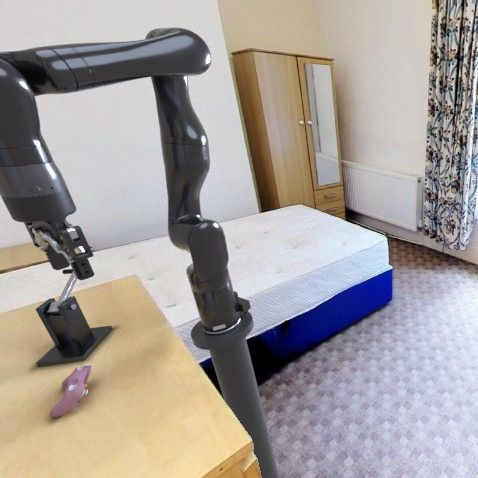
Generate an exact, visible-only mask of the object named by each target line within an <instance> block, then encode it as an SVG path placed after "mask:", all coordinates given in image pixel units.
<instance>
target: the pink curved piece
mask: <svg viewBox="0 0 478 478" xmlns="http://www.w3.org/2000/svg"><path fill="white" fill-rule="evenodd" d="M91 373H92V365H82V366H76V368H74V369H73V371H72V372H71V374H69V375H68V376H67V377H66V378H65V379H64V380H63V381H62V383H61V388H63V389H65V390H64V394H63V395H62V398H61V399H60V400H59V401H58V402H57V403H56V404H55V405H54V406H53V407H51V409H50V411H49V417H51V418H59V417H60V416H63V415H65V414H67V413H69V412H70V411H71V410H72V409H73V408H74V407H75V406H76V405H78V404H79V403H80V401H81V399H82V398H83V396H87V394H88V392H89V389H88V385H89V384H87V381H88V379H89V378H90V376H91Z"/></svg>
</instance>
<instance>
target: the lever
mask: <svg viewBox="0 0 478 478" xmlns="http://www.w3.org/2000/svg"><path fill="white" fill-rule="evenodd" d="M62 275H70V276H69V279H68V280H67V282H66V284H65V286H64V288H63V290H62V292H61V294H60V297H59V298H58V300H55V301H54V302H52V303H51V305H50V307H49V309H48V311H47V313H49V314H51V315H53V316H61V314H60V312H59V310H58V308H57V306H59V305H60V304H61V303H62V302H64V301H65V300H66V299H67V298H69V297H70V295H71V293H72V291H73V289H74V287H75V285H76V283H77V281H78V279H77V277H76V275H75V273H74V271H73V269H72V268H64V269H62Z"/></svg>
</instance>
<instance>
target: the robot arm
mask: <svg viewBox="0 0 478 478" xmlns="http://www.w3.org/2000/svg"><path fill="white" fill-rule="evenodd" d="M211 64H212V53H211V50H210V48H209V46H208V44H207V42H206V41H205V40H204V38H202V37H201V36H200V35H199V34H198V33H196V32H194V31H192V30H190V29H188V28H187V29H186V28H183V27H158V28H153V29H151V30H149V31H148V32H147V34H146V35H145V38H143V39H138V40H137V39H136V40H129V41H105V42H104V41H103V42H78V43H77V42H75V43H63V44H54V45H44V46H43V45H42V46H36V47H31V48H26V49H21V50H13V51H12V50H10V51H9V50H7V51H0V199H2V202H3V204H4V205H5V207H6V209H7V211H8V214H9V215H10V217H11V219H12V220H13V221H15V222H17V223H23V224H24V226H25V228H26V230H27V232H28V235H29V236H30V238H31V241H32V243H33V246H34V247H36V248H37V249H39V250H40V252H42V253H45V256H46V258H47V260H48V262H49V264H50V266H51V268H52V270H54V271H60V270H65V269H68V268H69V267H71V269H73V271H74V273H75V275H76V277H77V280H79V281H86V280H88V279H90V278H93V277H94V276H95V272H94V270H93V267H92V265H91V263H90V261H89V258H93V257H94V253H93V251H92V248H91V246H90V245H89V243H88V240H87V238H86V236H85V234H84V232H83V229H82V227H81V226H79V225H73V224H72V223H69V221H68V220H67V217H68V216H72V215H73V214H75V213H77V206H76V204H75V202H74V199H73V197H72V194H71V192H70V190H69V187H68V185H67V183H66V181H65V178H64V176H63V174H62V172H61V170H60V169H59V167H58V166H57V164H56V162H55V160H54V158H53V156H52V154H51V150H50V149H49V146H48V143H47V142H46V140H45V138H44V136H43V134H42V129H41V119H40V114H39V108H38V103H37V99H36V97H38V96H45V95H66V94H73V93H79V92H83V91H89V90H94V89H98V88H99V89H100V88H104V87H109V86H113V85H117V84H122V83H126V82H131V81H135V80H140V79H146V78H150V80H151V84H152V88H153V92H154V97H155V105H156V114H157V119H158V127H159V136H160V137H159V138H160V147H161V155H162V161H163V167H164V176H165V185H166V193H167V233H168V238H169V241H170V243H171V244H172V245H173V246H174V247H175V248H176V249H179V250H181V251H184V252H188V253H190V258H191V262H192V263H190V264H189V265H188V266H187V267H186V270H185V273H186V275H187V276H186V277H187V280H188V283H189V286H190V290H191V292H192V296H193V299H194V303H195V307H196V309H197V313H198V316H199V319H200V320H201V323H202V327H203V331H204V333H205V334H207V335H221V334H225V333H228V332H230V331H232V330H233V329H235V328H236V327H237V326H238V325H239V324H240V322H241V320H243V319H244V318H243V314H242V312H244V315H246V314H247V312H249V310H250V309H251V308H252V307H251V303H250V300H248V299H245V298H244V297H240V296H239V293H238V291H235V290H234V287H233V283H232V279H231V276H230V271H229V266H228V264H229V261H230V259H229V258H230V256H229V251H228V250H229V249H228V245H227V239H226V235H225V231H224V229H223V227H222V226H221V224H220V223H219V222H217V221H215V220H213V219H209V218H205V217H203V214H202V209H201V192H202V190H203V186H204V184H205V182H206V179H207V177H208V175H209V171H210V166H211V155H210V146H209V139H208V134H207V131H206V130H205V128H204V125H203V123H202V122H201V120H200V119H199V117H198V115H197V113H196V110H195V109H194V106H193V105H192V102H191V97H190V92H189V91H190V90H189V77H195V76H199V75H200V76H201V75H203V74H204V73H206V72H207V71H208V70H209V68H210V67H211ZM76 250H77V252H78V253H77V252H76Z"/></svg>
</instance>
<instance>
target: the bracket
mask: <svg viewBox="0 0 478 478" xmlns="http://www.w3.org/2000/svg"><path fill="white" fill-rule="evenodd" d="M54 301H56V299H55V298H54V297H53V298H47V300H45V301H44V302H43V303H41V304H40V305H38V306H37V307H36V308H35V309H34V310H35V312H36V313H37V315H38V317H39V318H40V320H41V323H42V324H43V326H44V327H45V330H46V332H47V333H48V335H49V336H50V339H51V340H52V342H53V343H54V346H52V348H50V349H49V350H48V351H46V353H45V354H44V355H43V356H42V357H40V358H39V359H38V360H37V361H36V362H35V364H36V366H37V368H41V367H49V366H55V365H61V364H68V363H75V362H83V361H85V360H86V359H87V358H88V357H89V356H90V355H91V354H92V353H93V352H94V351H95V350H96V349H97V347H98V346H99V345H100V344H101V343H102V342H103V341H104V340H105V339H106V337H108V336H109V334H110V333H111V332H112V331H113V330H114V329H113V326H112V325H104V326H96V327H90V325H89V323H88V321H87V319H86V316H85V315H84V312H83V311H82V309H81V306H80V304H79V302H78V301H77V298H76V296H75V295H72V296H69V297H68V298H67V299H66V300H65V301H64V302H62V303H61V304H60V305H59V306H57V308H58V310H59V312H60V314H61V316H53V315H51V314H49V313H47V311H48V309H49V307H50V305H51V303H52V302H54Z"/></svg>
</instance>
